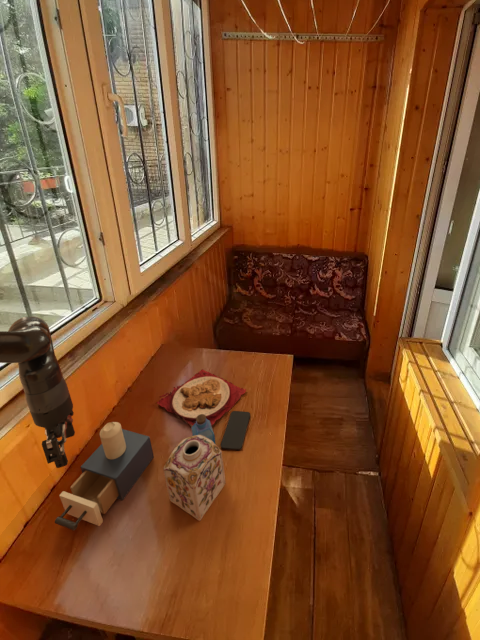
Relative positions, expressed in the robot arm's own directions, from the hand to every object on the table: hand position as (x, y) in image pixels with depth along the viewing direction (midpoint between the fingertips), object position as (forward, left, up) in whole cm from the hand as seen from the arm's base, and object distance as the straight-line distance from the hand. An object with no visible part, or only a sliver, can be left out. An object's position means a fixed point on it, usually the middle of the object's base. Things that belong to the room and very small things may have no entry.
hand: (66, 450), depth 77 cm
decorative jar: (+13, -26, -25) cm, 38 cm away
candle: (+12, 0, -16) cm, 20 cm away
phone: (+35, -28, -25) cm, 51 cm away
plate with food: (+45, -9, -25) cm, 52 cm away
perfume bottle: (+27, -20, -25) cm, 42 cm away
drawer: (+2, 0, -24) cm, 24 cm away
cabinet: (+12, 0, -25) cm, 28 cm away
